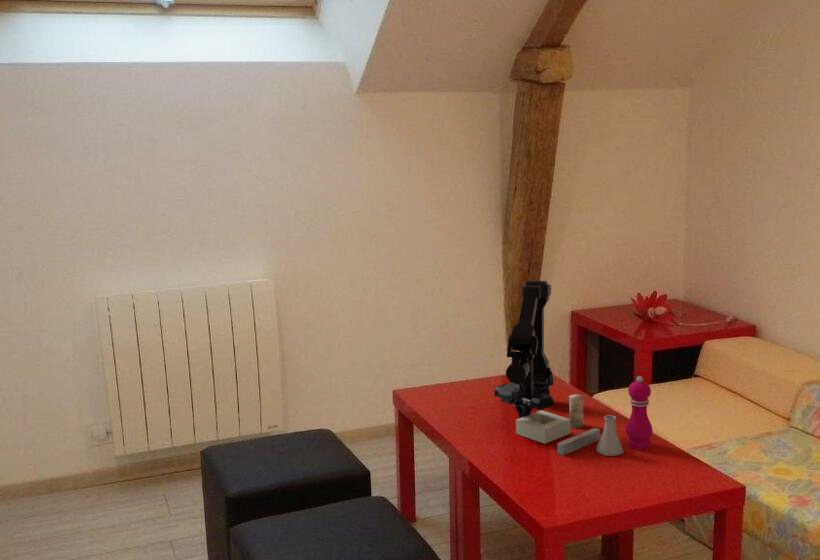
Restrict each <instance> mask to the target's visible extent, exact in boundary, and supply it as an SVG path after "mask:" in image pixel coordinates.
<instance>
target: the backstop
mask: <svg viewBox="0 0 820 560" xmlns="http://www.w3.org/2000/svg"><path fill="white" fill-rule="evenodd" d="M600 438H601V429H600V428H595V427H593V428H591V429H587V430H586V431H584V432H581V433H579V434H577V435H573V436H572V437H569V438H567V439H564V440H561V441H559V442H557V447H556V448H557V449H556V450H557V453H556V454H558V455H560V456H566V455H568V454H569V453H572V452H575V451H577V450H580V449H582V448H584V447H586V446H589V445H591V444H593V443H596V442H599V441H600Z"/></svg>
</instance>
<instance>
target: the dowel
mask: <svg viewBox="0 0 820 560" xmlns="http://www.w3.org/2000/svg"><path fill="white" fill-rule="evenodd" d="M568 399H569V401H568V402H569V404H568V405H569V409H568V410H569V413H568V414H569V415H568V416H569V418H568V419H570V428H571V429H572V428H573V429H581V428H583V427H584V396H583V395H582V394H571V395H569V398H568Z"/></svg>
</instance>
